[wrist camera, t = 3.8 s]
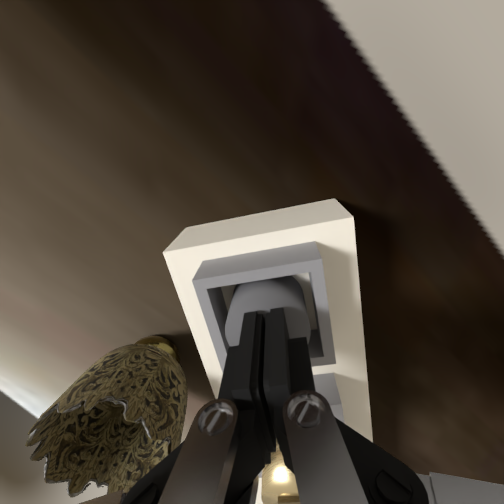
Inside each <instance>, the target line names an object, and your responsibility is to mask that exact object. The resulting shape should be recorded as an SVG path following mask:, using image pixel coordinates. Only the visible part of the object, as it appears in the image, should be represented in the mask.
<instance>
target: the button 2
mask: <svg viewBox="0 0 504 504" xmlns="http://www.w3.org/2000/svg"><path fill="white" fill-rule="evenodd" d="M282 307H283V309H284V313H285V318H286V323H287V328H288V333H289V337H290V339H292V338H300V337H306V338H307V343H309V340H310V335H311V329H310V323H309V318H308V313H307V308H306V303H305V298H304V294H303V290H302V288H301V286H300V284H299V282H298V281H297V280H296V279H295V278H294V277H293V276H292V275H289V276H283V277H277V278H271V279H265V280H258V281H252V282H246V283H240V284H236V286H235V288H234V292H233V296H232V300H231V304H230V308H229V312H228V316H227V320H226V324H225V335H226V339H227V342H228V344H229V346H237V345H239V340H240V334H241V328H242V322H243V316H244V313H248V312H254V311H257V312H258V314H263V317H264V322H265V321H266V313H270V309H275V308H282Z"/></svg>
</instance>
